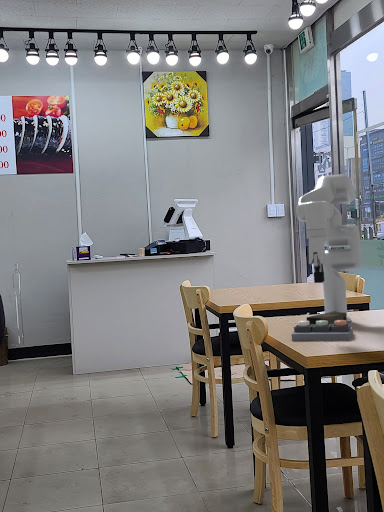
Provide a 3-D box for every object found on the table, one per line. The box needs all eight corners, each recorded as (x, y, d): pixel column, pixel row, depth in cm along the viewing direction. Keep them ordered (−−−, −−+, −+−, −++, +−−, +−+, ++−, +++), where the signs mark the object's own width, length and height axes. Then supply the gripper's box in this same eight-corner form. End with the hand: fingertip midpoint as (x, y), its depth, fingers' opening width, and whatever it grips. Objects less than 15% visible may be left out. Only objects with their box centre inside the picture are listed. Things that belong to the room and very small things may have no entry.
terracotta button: (335, 325, 242) (335, 320, 242) (347, 325, 240) (347, 319, 240) (334, 327, 238) (333, 321, 238) (346, 327, 236) (345, 321, 236)
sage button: (317, 325, 244) (316, 320, 244) (328, 325, 243) (328, 320, 243) (315, 327, 240) (315, 322, 240) (327, 327, 238) (326, 322, 238)
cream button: (299, 325, 247) (298, 320, 247) (310, 325, 245) (310, 320, 245) (297, 327, 243) (296, 322, 242) (308, 327, 241) (308, 322, 241)
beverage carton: (348, 326, 264) (347, 310, 263) (322, 334, 250) (321, 317, 250) (331, 325, 269) (330, 310, 269) (305, 332, 255) (304, 316, 255)
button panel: (298, 334, 252) (298, 322, 252) (352, 333, 244) (352, 322, 244) (291, 340, 239) (291, 328, 238) (348, 340, 231) (348, 328, 231)
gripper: (310, 234, 249) (313, 280, 250) (302, 235, 234) (305, 284, 234) (329, 233, 246) (332, 280, 247) (323, 234, 231) (326, 284, 232)
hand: (319, 281), depth 241 cm, fingers open, 2 cm apart
